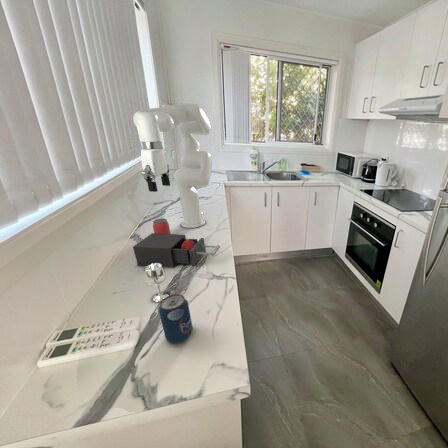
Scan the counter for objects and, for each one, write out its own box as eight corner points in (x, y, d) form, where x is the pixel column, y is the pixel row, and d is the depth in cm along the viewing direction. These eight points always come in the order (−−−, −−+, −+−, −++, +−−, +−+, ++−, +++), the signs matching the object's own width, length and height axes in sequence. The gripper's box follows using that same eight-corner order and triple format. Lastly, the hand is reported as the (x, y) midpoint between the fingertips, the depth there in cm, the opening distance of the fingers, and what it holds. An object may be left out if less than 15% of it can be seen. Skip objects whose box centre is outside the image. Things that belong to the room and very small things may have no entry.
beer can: (166, 247, 113) (161, 224, 108) (153, 246, 114) (148, 222, 109) (175, 241, 119) (171, 218, 114) (163, 240, 120) (158, 217, 115)
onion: (182, 253, 105) (179, 236, 102) (196, 250, 107) (194, 234, 104) (183, 259, 100) (180, 242, 97) (198, 257, 102) (195, 240, 99)
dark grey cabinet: (188, 252, 110) (185, 234, 107) (173, 267, 98) (169, 248, 95) (156, 250, 110) (152, 233, 107) (137, 265, 99) (132, 246, 95)
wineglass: (157, 305, 78) (149, 274, 74) (147, 298, 81) (139, 268, 77) (173, 295, 83) (167, 265, 78) (163, 289, 86) (157, 260, 81)
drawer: (222, 252, 109) (221, 238, 106) (213, 266, 98) (211, 251, 96) (175, 250, 109) (173, 236, 107) (161, 264, 99) (158, 249, 96)
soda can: (190, 343, 66) (183, 308, 61) (162, 347, 64) (153, 312, 60) (195, 324, 72) (189, 291, 67) (169, 327, 70) (162, 294, 66)
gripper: (155, 143, 104) (162, 183, 111) (127, 147, 88) (138, 193, 95) (172, 144, 104) (179, 183, 110) (148, 148, 88) (157, 194, 95)
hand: (160, 188), depth 103 cm, fingers open, 9 cm apart
